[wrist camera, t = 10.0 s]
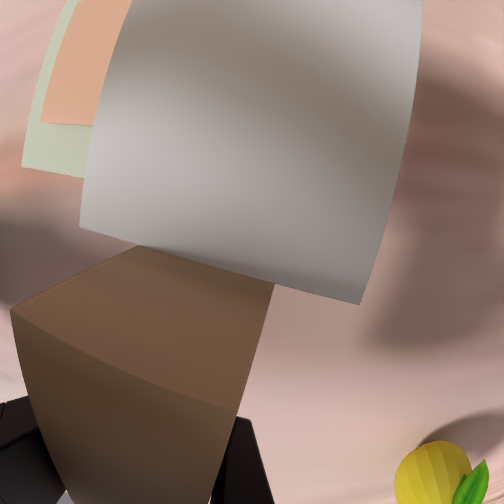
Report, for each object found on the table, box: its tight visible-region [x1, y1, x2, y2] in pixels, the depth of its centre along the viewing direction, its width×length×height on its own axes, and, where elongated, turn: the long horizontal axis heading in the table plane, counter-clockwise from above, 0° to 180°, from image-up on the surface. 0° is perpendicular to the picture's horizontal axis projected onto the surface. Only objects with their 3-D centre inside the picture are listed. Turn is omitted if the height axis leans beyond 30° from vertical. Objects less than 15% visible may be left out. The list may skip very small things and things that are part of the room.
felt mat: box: [21, 0, 93, 178], centre depth 14 cm, size 14×12×1 cm
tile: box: [40, 0, 132, 127], centre depth 13 cm, size 8×2×8 cm
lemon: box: [395, 440, 489, 504], centre depth 12 cm, size 7×6×10 cm
